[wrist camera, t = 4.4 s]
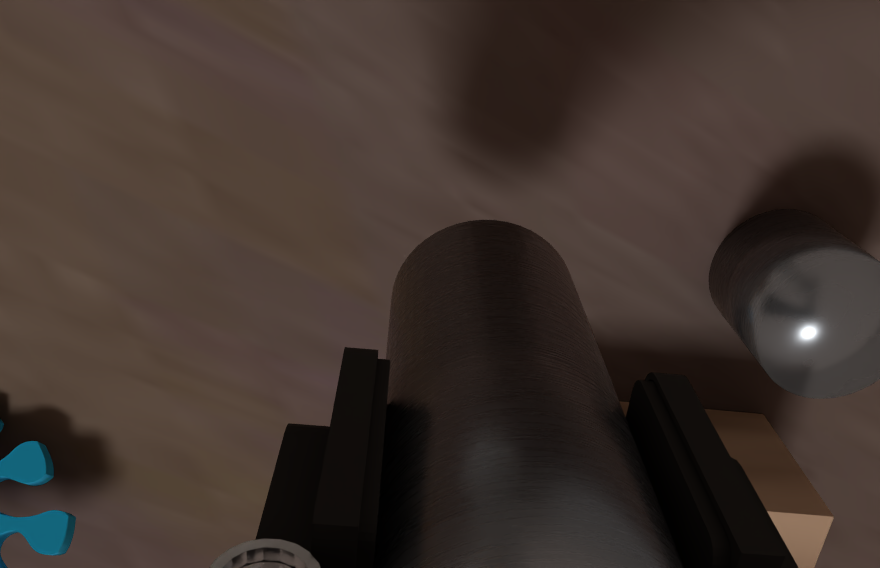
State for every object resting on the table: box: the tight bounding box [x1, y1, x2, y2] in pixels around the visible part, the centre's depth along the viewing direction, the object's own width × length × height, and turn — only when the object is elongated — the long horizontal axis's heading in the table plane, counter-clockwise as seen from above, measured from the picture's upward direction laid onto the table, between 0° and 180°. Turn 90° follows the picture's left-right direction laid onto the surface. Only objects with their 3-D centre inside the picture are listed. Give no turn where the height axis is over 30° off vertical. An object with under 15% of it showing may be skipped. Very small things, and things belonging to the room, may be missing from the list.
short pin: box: [709, 209, 880, 399], centre depth 22 cm, size 4×4×4 cm
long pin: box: [373, 220, 684, 568], centre depth 11 cm, size 4×4×14 cm
